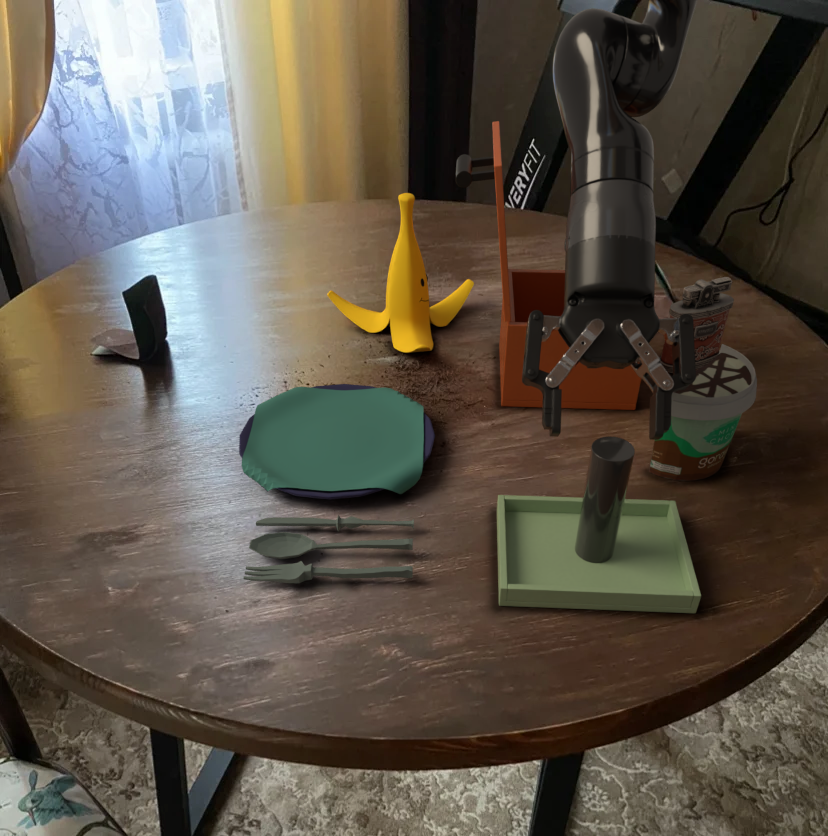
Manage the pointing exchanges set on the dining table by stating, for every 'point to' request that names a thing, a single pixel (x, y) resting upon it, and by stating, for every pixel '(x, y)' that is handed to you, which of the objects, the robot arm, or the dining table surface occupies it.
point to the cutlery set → (333, 466)
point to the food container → (705, 418)
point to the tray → (593, 582)
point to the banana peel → (406, 294)
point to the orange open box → (554, 351)
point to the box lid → (467, 177)
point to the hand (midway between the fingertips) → (605, 436)
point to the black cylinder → (603, 498)
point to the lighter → (702, 319)
